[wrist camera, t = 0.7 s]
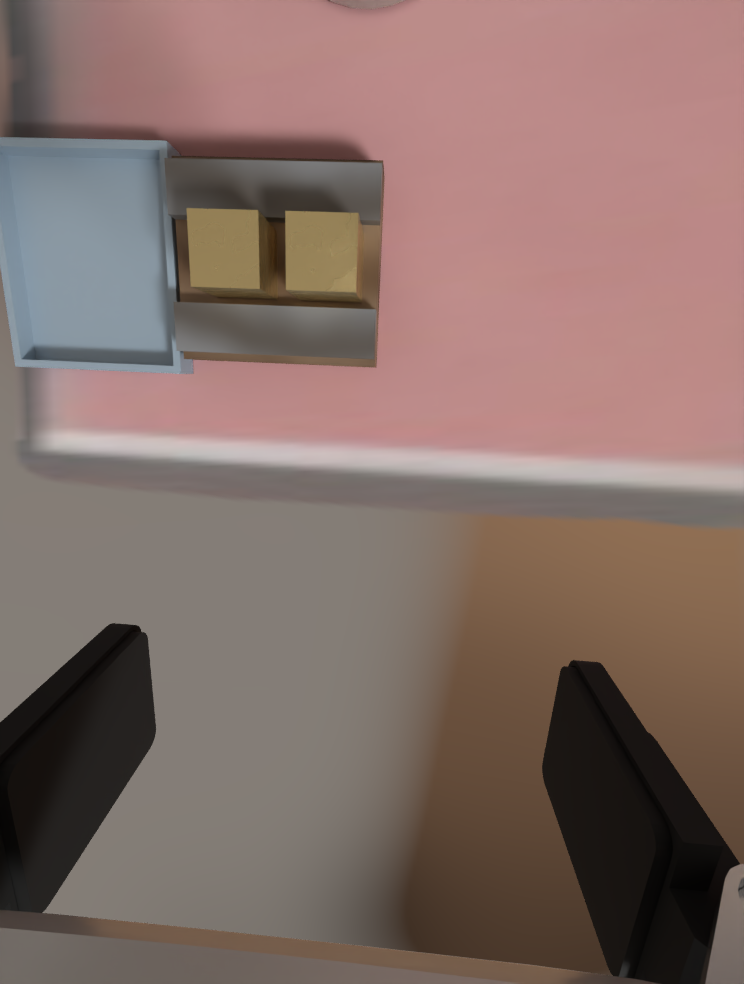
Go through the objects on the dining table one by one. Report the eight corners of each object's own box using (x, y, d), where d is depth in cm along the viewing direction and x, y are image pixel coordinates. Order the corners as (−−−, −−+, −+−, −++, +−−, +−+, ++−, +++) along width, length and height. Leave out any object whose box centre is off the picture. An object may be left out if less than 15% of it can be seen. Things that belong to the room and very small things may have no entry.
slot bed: (189, 172, 31) (163, 148, 27) (384, 177, 30) (382, 153, 27) (199, 359, 34) (177, 358, 30) (376, 367, 33) (373, 367, 30)
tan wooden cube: (214, 229, 29) (186, 208, 25) (277, 231, 29) (258, 210, 25) (217, 297, 30) (190, 286, 26) (277, 299, 30) (259, 288, 26)
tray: (6, 151, 31) (-20, 136, 29) (181, 155, 30) (166, 140, 29) (36, 366, 35) (15, 366, 33) (193, 373, 34) (181, 373, 32)
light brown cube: (300, 232, 29) (285, 210, 25) (363, 233, 29) (358, 212, 25) (300, 300, 30) (285, 289, 26) (361, 302, 30) (356, 292, 26)
